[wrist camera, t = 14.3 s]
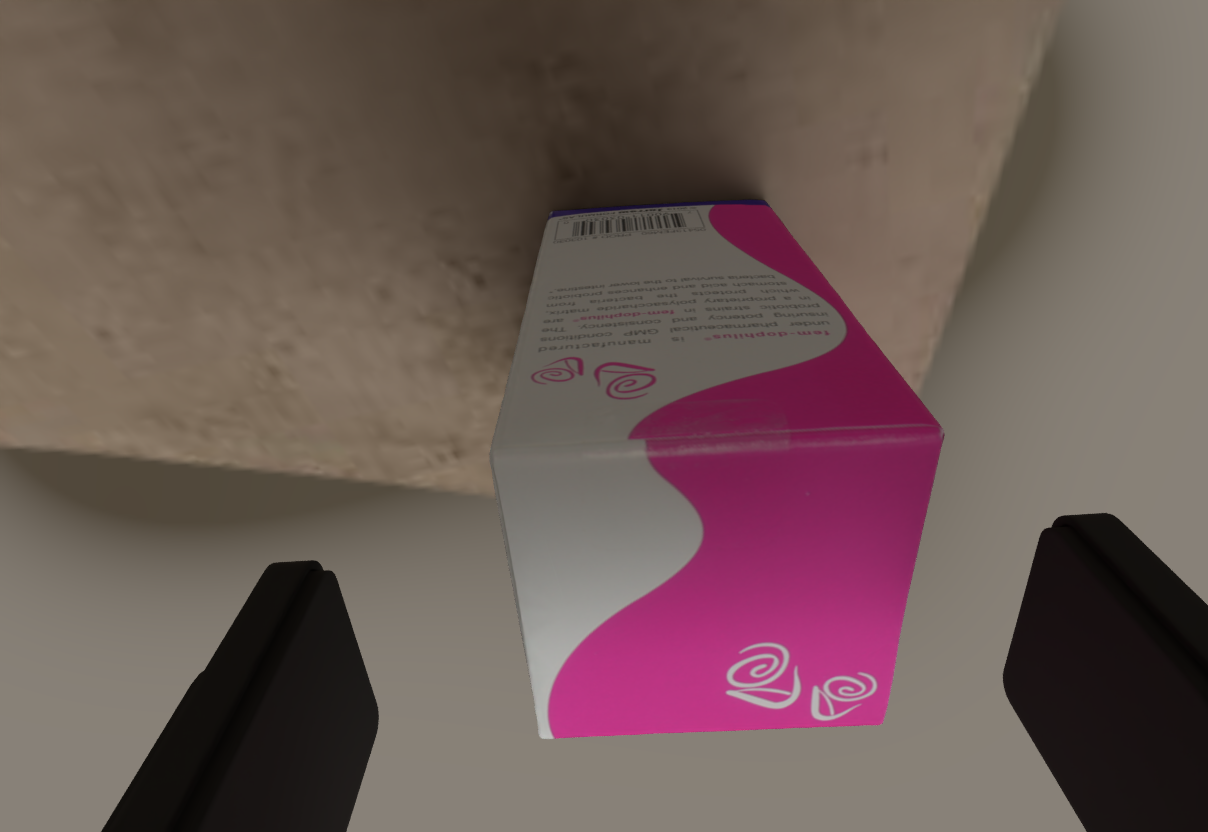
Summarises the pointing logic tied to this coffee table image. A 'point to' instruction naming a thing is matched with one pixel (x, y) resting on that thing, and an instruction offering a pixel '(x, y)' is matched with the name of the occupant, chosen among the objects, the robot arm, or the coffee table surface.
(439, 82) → the coffee table surface
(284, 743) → the robot arm
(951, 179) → the coffee table surface
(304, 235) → the coffee table surface
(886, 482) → the supplement box
